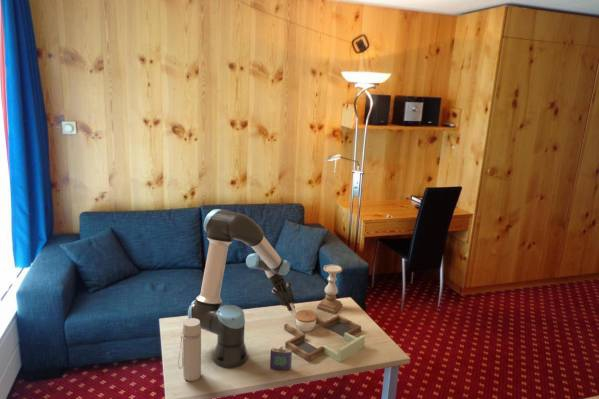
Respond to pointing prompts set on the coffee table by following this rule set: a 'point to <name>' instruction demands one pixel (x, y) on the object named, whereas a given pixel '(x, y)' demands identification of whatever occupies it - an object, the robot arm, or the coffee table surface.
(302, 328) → the lidded jar
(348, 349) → the track
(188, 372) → the water bottle
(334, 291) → the candle holder
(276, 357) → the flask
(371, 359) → the coffee table surface
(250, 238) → the robot arm
